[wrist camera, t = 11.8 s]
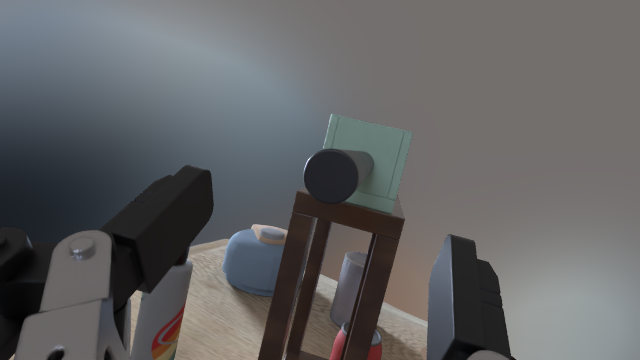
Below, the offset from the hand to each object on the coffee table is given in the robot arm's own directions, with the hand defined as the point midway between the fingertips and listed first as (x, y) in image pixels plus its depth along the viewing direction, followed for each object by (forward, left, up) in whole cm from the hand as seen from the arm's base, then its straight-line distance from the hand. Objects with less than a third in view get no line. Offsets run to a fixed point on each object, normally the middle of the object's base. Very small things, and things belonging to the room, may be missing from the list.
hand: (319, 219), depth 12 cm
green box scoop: (0, +12, -2) cm, 12 cm away
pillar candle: (+4, +63, -34) cm, 72 cm away
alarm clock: (-19, +70, -34) cm, 80 cm away
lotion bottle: (-22, +32, -34) cm, 52 cm away
